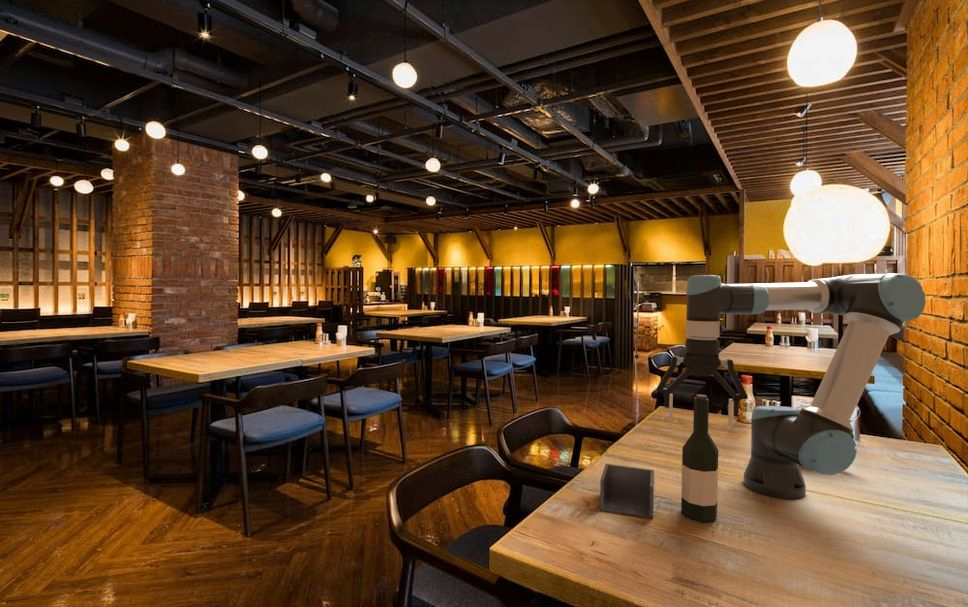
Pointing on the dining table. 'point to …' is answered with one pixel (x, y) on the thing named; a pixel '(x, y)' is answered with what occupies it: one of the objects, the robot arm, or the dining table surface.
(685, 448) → the wine bottle
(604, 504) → the bottle rest
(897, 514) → the dining table surface
